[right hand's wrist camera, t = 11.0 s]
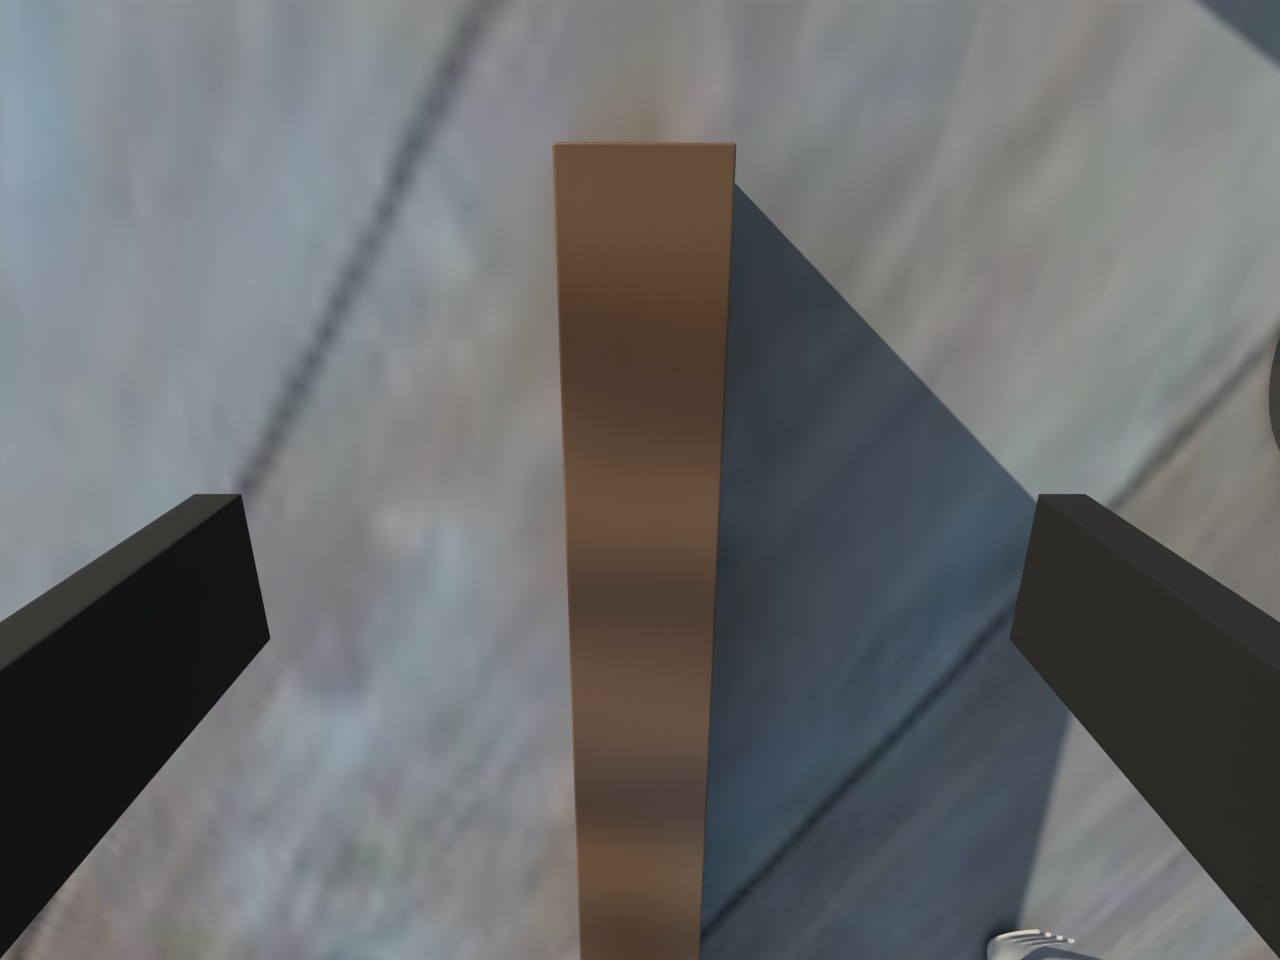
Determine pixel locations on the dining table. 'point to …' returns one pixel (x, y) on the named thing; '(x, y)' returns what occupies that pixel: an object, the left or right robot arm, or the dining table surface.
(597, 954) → the bar
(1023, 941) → the fork
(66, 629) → the right robot arm
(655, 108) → the dining table surface
